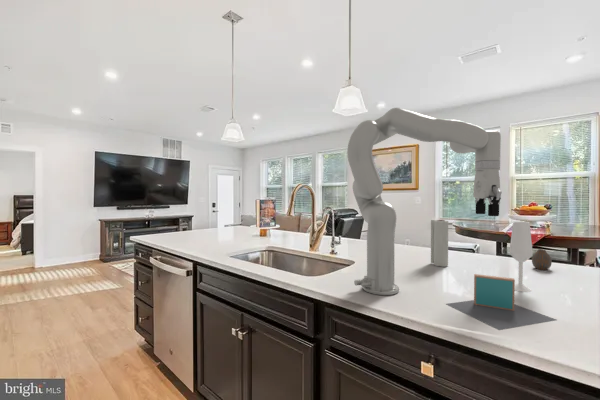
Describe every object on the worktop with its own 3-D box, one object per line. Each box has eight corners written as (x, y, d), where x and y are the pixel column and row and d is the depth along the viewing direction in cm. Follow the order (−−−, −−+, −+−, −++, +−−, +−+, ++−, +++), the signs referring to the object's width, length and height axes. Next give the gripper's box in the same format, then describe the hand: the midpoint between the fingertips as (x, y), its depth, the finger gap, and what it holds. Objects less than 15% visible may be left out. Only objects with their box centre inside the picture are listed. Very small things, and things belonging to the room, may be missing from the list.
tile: (474, 304, 90) (474, 275, 90) (474, 302, 92) (474, 274, 92) (514, 311, 86) (514, 280, 85) (513, 308, 87) (513, 278, 87)
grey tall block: (450, 266, 138) (450, 220, 137) (437, 267, 138) (437, 221, 137) (443, 263, 145) (443, 219, 144) (430, 263, 145) (430, 219, 145)
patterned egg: (550, 268, 135) (550, 248, 134) (552, 271, 129) (553, 251, 129) (530, 266, 138) (531, 247, 138) (532, 269, 133) (532, 249, 132)
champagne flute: (536, 292, 103) (537, 223, 102) (515, 291, 104) (516, 222, 103) (525, 286, 109) (526, 221, 109) (505, 285, 110) (505, 221, 110)
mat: (499, 331, 74) (499, 329, 74) (445, 305, 91) (445, 303, 91) (557, 321, 80) (557, 319, 80) (496, 298, 97) (496, 297, 97)
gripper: (466, 168, 114) (465, 213, 115) (487, 164, 97) (486, 216, 98) (487, 168, 113) (486, 213, 114) (512, 164, 96) (511, 217, 97)
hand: (486, 214), depth 106 cm, fingers open, 9 cm apart
